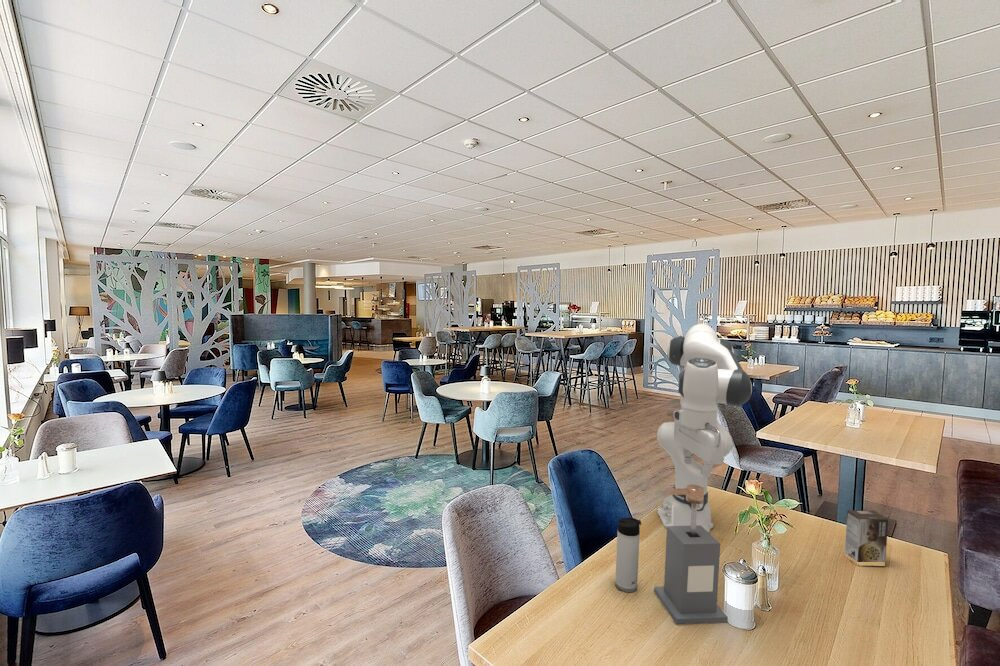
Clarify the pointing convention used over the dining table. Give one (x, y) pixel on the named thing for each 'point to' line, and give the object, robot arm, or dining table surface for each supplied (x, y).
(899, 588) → the dining table surface
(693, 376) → the robot arm
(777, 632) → the dining table surface
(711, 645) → the dining table surface
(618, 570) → the travel mug
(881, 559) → the coffee box
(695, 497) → the pump head
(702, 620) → the grey box with base
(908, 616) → the dining table surface
